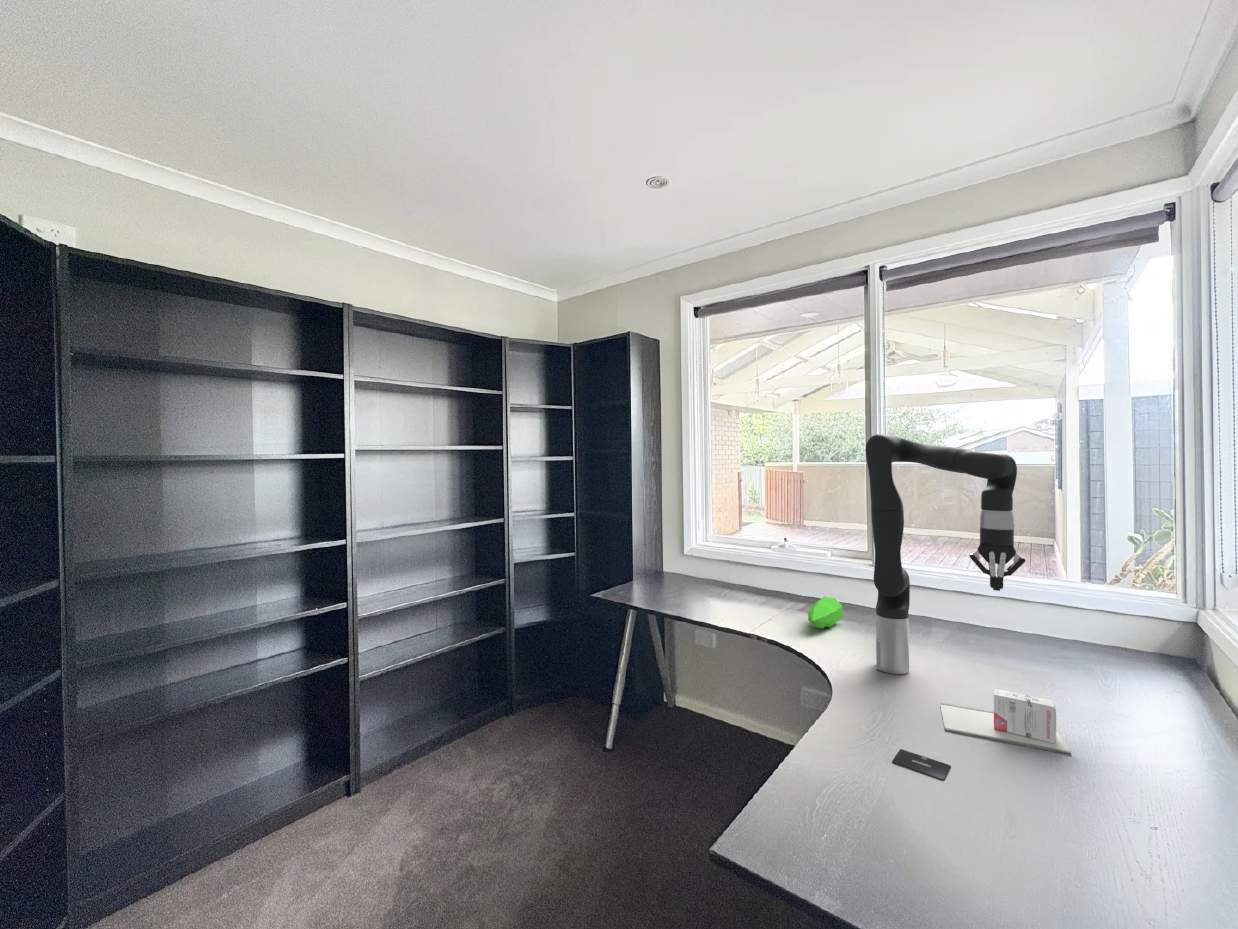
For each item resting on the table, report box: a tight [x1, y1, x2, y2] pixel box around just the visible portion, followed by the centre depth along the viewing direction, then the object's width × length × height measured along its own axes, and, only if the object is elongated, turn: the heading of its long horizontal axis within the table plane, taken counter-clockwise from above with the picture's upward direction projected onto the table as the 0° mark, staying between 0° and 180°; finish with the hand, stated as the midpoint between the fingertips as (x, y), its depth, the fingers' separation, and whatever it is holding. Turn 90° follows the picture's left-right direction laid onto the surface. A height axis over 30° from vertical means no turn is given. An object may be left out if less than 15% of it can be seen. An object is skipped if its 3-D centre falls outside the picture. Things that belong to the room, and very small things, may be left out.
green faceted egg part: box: [807, 596, 844, 629], centre depth 211 cm, size 11×12×30 cm
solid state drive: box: [891, 748, 952, 782], centre depth 114 cm, size 7×10×1 cm
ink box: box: [993, 688, 1057, 743], centre depth 126 cm, size 9×5×12 cm
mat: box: [939, 702, 1072, 756], centre depth 130 cm, size 24×16×1 cm, turn 62°
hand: (996, 590), depth 143 cm, fingers closed
